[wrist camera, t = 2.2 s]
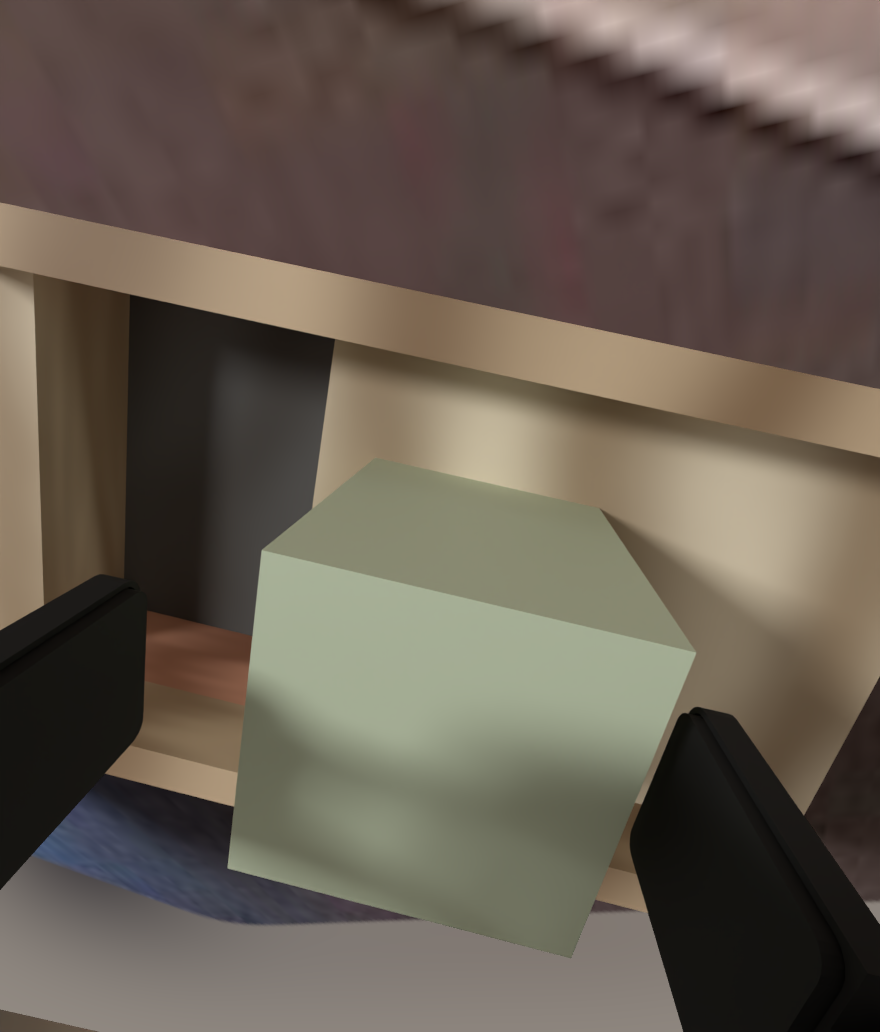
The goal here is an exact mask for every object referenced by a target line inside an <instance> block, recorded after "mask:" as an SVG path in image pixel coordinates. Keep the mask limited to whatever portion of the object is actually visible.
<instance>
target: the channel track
mask: <svg viewBox="0 0 880 1032" xmlns="http://www.w3.org/2000/svg"><path fill="white" fill-rule="evenodd" d="M374 458H380V459H384V460H388V461H393V462H397V463H402V464H406V465H411V466H415V467H419V468H424V469H428V470H433V471H437V472H441V473H446V474H450V475H455V476H459V477H464V478H468V479H472V480H477V481H481V482H486V483H490V484H495V485H499V486H503V487H508V488H512V489H517V490H521V491H525V492H530V493H534V494H539V495H543V496H548V497H552V498H556V499H561V500H565V501H570V502H574V503H578V504H583V505H587V506H592V507H596V508H600V510H601V511H602V513H603V514H604V516H605V517H606V519H607V520H608V522H609V523H610V525H611V526H612V528H613V529H614V531H615V532H616V534H617V535H618V537H619V538H620V540H621V541H622V543H623V544H624V546H625V547H626V549H627V550H628V552H629V553H630V555H631V556H632V557H633V559H634V560H635V562H636V563H637V565H638V566H639V568H640V569H641V571H642V572H643V574H644V575H645V577H646V578H647V580H648V581H649V583H650V584H651V586H652V587H653V589H654V590H655V592H656V593H657V595H658V596H659V598H660V599H661V601H662V602H663V604H664V605H665V607H666V608H667V609H668V611H669V612H670V614H671V615H672V617H673V618H674V620H675V621H676V623H677V624H678V626H679V627H680V629H681V630H682V632H683V633H684V635H685V636H686V638H687V639H688V641H689V642H690V644H691V645H692V647H693V648H694V650H695V651H696V655H695V658H694V660H693V663H692V665H691V667H690V670H689V672H688V675H687V677H686V680H685V682H684V684H683V687H682V689H681V692H680V694H679V697H678V699H677V701H676V704H675V706H674V709H673V711H672V714H671V716H670V719H669V721H668V723H667V726H666V728H665V731H664V733H663V736H662V738H661V740H660V743H659V745H658V748H657V750H656V753H655V755H654V757H653V760H652V762H651V765H650V767H649V770H648V772H647V774H646V777H645V779H644V782H643V784H642V787H641V789H640V792H639V794H638V796H637V799H636V801H635V804H634V806H633V809H632V811H631V813H630V816H629V818H628V821H627V823H626V826H625V828H624V830H623V833H622V835H621V838H620V840H619V843H618V845H617V848H616V850H615V852H614V855H613V857H612V860H611V862H610V865H609V867H608V869H607V872H606V874H605V877H604V879H603V882H602V884H601V886H600V889H599V891H598V894H597V896H596V899H595V900H599V901H603V902H607V903H611V904H615V905H619V906H623V907H627V908H631V909H634V910H638V911H642V912H646V913H648V911H647V908H646V904H645V901H644V898H643V894H642V891H641V887H640V884H639V881H638V877H637V874H636V871H635V867H634V864H633V861H632V857H631V853H630V845H629V844H630V833H631V829H632V827H633V824H634V822H635V819H636V817H637V815H638V812H639V810H640V807H641V805H642V803H643V800H644V798H645V796H646V793H647V791H648V788H649V786H650V784H651V781H652V779H653V776H654V774H655V772H656V769H657V767H658V764H659V762H660V760H661V757H662V755H663V752H664V750H665V748H666V745H667V743H668V740H669V738H670V736H671V733H672V731H673V728H674V726H675V724H676V721H677V719H678V717H679V716H680V715H681V714H682V713H689V712H690V710H691V709H693V708H694V707H701V708H706V709H710V710H715V711H719V712H724V713H728V714H731V715H733V716H734V717H735V718H736V719H737V720H738V722H739V723H740V725H741V726H742V728H743V729H744V730H745V732H746V733H747V735H748V736H749V738H750V739H751V740H752V742H753V743H754V745H755V746H756V748H757V749H758V750H759V752H760V753H761V755H762V756H763V758H764V759H765V761H766V762H767V763H768V765H769V766H770V768H771V769H772V771H773V772H774V773H775V775H776V776H777V778H778V779H779V781H780V782H781V783H782V785H783V786H784V788H785V789H786V791H787V792H788V794H789V795H790V796H791V798H792V799H793V801H794V802H795V804H796V805H797V806H798V808H799V809H800V811H801V812H802V814H803V815H805V813H806V811H807V809H808V807H809V805H810V804H811V802H812V800H813V798H814V796H815V794H816V793H817V791H818V789H819V787H820V785H821V783H822V781H823V780H824V778H825V776H826V774H827V772H828V770H829V769H830V767H831V765H832V763H833V761H834V759H835V758H836V756H837V754H838V752H839V750H840V748H841V747H842V745H843V743H844V741H845V739H846V737H847V736H848V734H849V732H850V730H851V728H852V726H853V725H854V723H855V721H856V719H857V717H858V715H859V713H860V712H861V710H862V708H863V706H864V704H865V702H866V701H867V699H868V697H869V695H870V693H871V691H872V690H873V688H874V686H875V684H876V682H877V680H878V679H879V677H880V389H875V388H871V387H866V386H861V385H856V384H852V383H847V382H842V381H838V380H833V379H828V378H823V377H819V376H814V375H809V374H805V373H800V372H795V371H791V370H786V369H781V368H776V367H772V366H767V365H762V364H758V363H753V362H748V361H743V360H739V359H734V358H729V357H725V356H720V355H715V354H710V353H706V352H701V351H696V350H692V349H687V348H682V347H677V346H673V345H668V344H663V343H659V342H654V341H649V340H645V339H640V338H635V337H630V336H626V335H621V334H616V333H612V332H607V331H602V330H597V329H593V328H588V327H583V326H579V325H574V324H569V323H564V322H560V321H555V320H550V319H546V318H541V317H536V316H532V315H527V314H522V313H517V312H513V311H508V310H503V309H499V308H494V307H489V306H484V305H480V304H475V303H470V302H466V301H461V300H456V299H451V298H447V297H442V296H437V295H433V294H428V293H423V292H418V291H414V290H409V289H404V288H400V287H395V286H390V285H386V284H381V283H376V282H371V281H367V280H362V279H357V278H353V277H348V276H343V275H338V274H334V273H329V272H324V271H320V270H315V269H310V268H305V267H301V266H296V265H291V264H287V263H282V262H277V261H273V260H268V259H263V258H258V257H254V256H249V255H244V254H240V253H235V252H230V251H225V250H221V249H216V248H211V247H207V246H202V245H197V244H192V243H188V242H183V241H178V240H174V239H169V238H164V237H159V236H155V235H150V234H145V233H141V232H136V231H131V230H127V229H122V228H117V227H112V226H108V225H103V224H98V223H94V222H89V221H84V220H79V219H75V218H70V217H65V216H61V215H56V214H51V213H46V212H42V211H37V210H32V209H28V208H23V207H18V206H14V205H9V204H4V203H0V630H1V629H3V628H5V627H7V626H8V625H10V624H12V623H14V622H15V621H17V620H19V619H21V618H22V617H24V616H26V615H28V614H29V613H31V612H33V611H35V610H36V609H38V608H40V607H42V606H43V605H45V604H47V603H49V602H50V601H52V600H54V599H55V598H57V597H59V596H61V595H62V594H64V593H66V592H68V591H69V590H71V589H73V588H75V587H76V586H78V585H80V584H82V583H83V582H85V581H87V580H89V579H90V578H92V577H94V576H96V575H99V574H105V575H109V576H114V577H118V578H123V579H127V580H132V581H135V582H136V583H138V585H139V587H140V591H142V592H144V593H145V594H146V596H147V627H146V655H145V683H144V712H143V723H142V726H141V729H140V731H139V734H138V735H137V737H136V739H135V740H134V741H133V743H132V744H131V745H130V746H129V747H128V748H127V749H126V750H125V752H124V753H123V754H122V755H121V756H120V757H119V758H118V759H117V760H116V762H115V763H114V764H113V765H112V766H111V767H110V768H109V769H108V771H107V772H106V773H105V774H109V775H113V776H117V777H121V778H125V779H128V780H132V781H136V782H140V783H144V784H148V785H152V786H156V787H160V788H163V789H167V790H171V791H175V792H179V793H183V794H187V795H191V796H195V797H198V798H202V799H206V800H210V801H214V802H218V803H222V804H226V805H230V806H234V803H235V794H236V785H237V775H238V766H239V757H240V747H241V738H242V729H243V719H244V710H245V701H246V692H247V682H248V673H249V664H250V654H251V645H252V636H253V627H254V617H255V608H256V599H257V589H258V580H259V571H260V561H261V552H262V549H264V548H265V547H266V546H267V545H269V544H270V543H271V542H272V541H274V540H275V539H276V538H277V537H278V536H280V535H281V534H282V533H283V532H285V531H286V530H287V529H288V528H290V527H291V526H292V525H293V524H294V523H296V522H297V521H298V520H299V519H301V518H302V517H303V516H304V515H305V514H307V513H308V512H309V511H310V510H312V509H313V508H314V507H315V506H317V505H318V504H319V503H320V502H321V501H323V500H324V499H325V498H326V497H328V496H329V495H330V494H331V493H333V492H334V491H335V490H336V489H337V488H339V487H340V486H341V485H342V484H344V483H345V482H346V481H347V480H349V479H350V478H351V477H352V476H353V475H355V474H356V473H357V472H358V471H360V470H361V469H362V468H363V467H364V466H366V465H367V464H368V463H369V462H371V461H372V460H373V459H374Z"/></svg>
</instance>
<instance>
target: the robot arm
mask: <svg viewBox="0 0 880 1032" xmlns="http://www.w3.org/2000/svg"><path fill="white" fill-rule="evenodd" d="M146 627H147V596H146V594H145V593H144V592H142V591H140V587H139V585H138V583H136V582H135V581H132V580H127V579H123V578H118V577H114V576H109V575H105V574H99V575H96V576H94V577H92V578H90V579H89V580H87V581H85V582H83V583H82V584H80V585H78V586H76V587H75V588H73V589H71V590H69V591H68V592H66V593H64V594H62V595H61V596H59V597H57V598H55V599H54V600H52V601H50V602H49V603H47V604H45V605H43V606H42V607H40V608H38V609H36V610H35V611H33V612H31V613H29V614H28V615H26V616H24V617H22V618H21V619H19V620H17V621H15V622H14V623H12V624H10V625H8V626H7V627H5V628H3V629H1V630H0V890H1V888H2V887H3V886H4V885H5V884H6V883H7V882H8V881H9V879H10V878H11V877H12V876H13V875H14V874H15V873H16V872H17V871H18V870H19V868H20V867H21V866H22V865H23V864H24V863H25V862H26V861H27V860H28V858H29V857H30V856H31V855H32V854H33V853H34V852H35V851H36V850H37V848H38V847H39V846H40V845H41V844H42V843H43V842H44V841H45V840H46V838H47V837H48V836H49V835H50V834H51V833H52V832H53V831H54V830H55V828H56V827H57V826H58V825H59V824H60V823H61V822H62V821H63V819H64V818H65V817H66V816H67V815H68V814H69V813H70V812H71V811H72V809H73V808H74V807H75V806H76V805H77V804H78V803H79V802H80V801H81V799H82V798H83V797H84V796H85V795H86V794H87V793H88V792H89V791H90V789H91V788H92V787H93V786H94V785H95V784H96V783H97V782H98V781H99V779H100V778H101V777H102V776H103V775H104V774H105V773H106V772H107V771H108V769H109V768H110V767H111V766H112V765H113V764H114V763H115V762H116V760H117V759H118V758H119V757H120V756H121V755H122V754H123V753H124V752H125V750H126V749H127V748H128V747H129V746H130V745H131V744H132V743H133V741H134V740H135V739H136V737H137V735H138V734H139V731H140V729H141V726H142V723H143V712H144V683H145V655H146ZM629 845H630V853H631V857H632V861H633V864H634V867H635V871H636V874H637V877H638V881H639V884H640V887H641V891H642V894H643V898H644V901H645V904H646V908H647V911H648V914H649V918H650V921H651V924H652V928H653V931H654V934H655V938H656V941H657V945H658V948H659V951H660V955H661V958H662V961H663V965H664V968H665V972H666V974H667V978H668V981H669V985H670V988H671V992H672V995H673V998H674V1002H675V1005H676V1009H677V1012H678V1015H679V1019H680V1022H681V1025H682V1029H683V1032H880V924H879V923H878V921H877V920H876V918H875V917H874V916H873V914H872V913H871V911H870V910H869V908H868V907H867V905H866V904H865V903H864V901H863V900H862V898H861V897H860V895H859V894H858V893H857V891H856V890H855V888H854V887H853V885H852V884H851V882H850V881H849V880H848V878H847V877H846V875H845V874H844V872H843V871H842V870H841V868H840V867H839V865H838V864H837V862H836V861H835V860H834V858H833V857H832V855H831V854H830V852H829V851H828V849H827V848H826V847H825V845H824V844H823V842H822V841H821V839H820V838H819V837H818V835H817V834H816V832H815V831H814V829H813V828H812V827H811V825H810V824H809V822H808V821H807V819H806V818H805V816H804V815H803V814H802V812H801V811H800V809H799V808H798V806H797V805H796V804H795V802H794V801H793V799H792V798H791V796H790V795H789V794H788V792H787V791H786V789H785V788H784V786H783V785H782V783H781V782H780V781H779V779H778V778H777V776H776V775H775V773H774V772H773V771H772V769H771V768H770V766H769V765H768V763H767V762H766V761H765V759H764V758H763V756H762V755H761V753H760V752H759V750H758V749H757V748H756V746H755V745H754V743H753V742H752V740H751V739H750V738H749V736H748V735H747V733H746V732H745V730H744V729H743V728H742V726H741V725H740V723H739V722H738V720H737V719H736V718H735V717H734V716H733V715H731V714H728V713H724V712H719V711H715V710H710V709H706V708H701V707H694V708H693V709H691V710H690V712H689V713H682V714H681V715H680V716H679V717H678V719H677V721H676V724H675V726H674V728H673V731H672V733H671V736H670V738H669V740H668V743H667V745H666V748H665V750H664V752H663V755H662V757H661V760H660V762H659V764H658V767H657V769H656V772H655V774H654V776H653V779H652V781H651V784H650V786H649V788H648V791H647V793H646V796H645V798H644V800H643V803H642V805H641V807H640V810H639V812H638V815H637V817H636V819H635V822H634V824H633V827H632V829H631V833H630V844H629ZM0 1032H97V1031H92V1030H88V1029H84V1028H79V1027H74V1026H70V1025H66V1024H62V1023H57V1022H53V1021H48V1020H44V1019H39V1018H35V1017H31V1016H26V1015H22V1014H17V1013H13V1012H8V1011H4V1010H0Z"/></svg>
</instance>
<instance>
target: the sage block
mask: <svg viewBox="0 0 880 1032" xmlns="http://www.w3.org/2000/svg"><path fill="white" fill-rule="evenodd" d="M695 655H696V651H695V650H694V648H693V647H692V645H691V644H690V642H689V641H688V639H687V638H686V636H685V635H684V633H683V632H682V630H681V629H680V627H679V626H678V624H677V623H676V621H675V620H674V618H673V617H672V615H671V614H670V612H669V611H668V609H667V608H666V607H665V605H664V604H663V602H662V601H661V599H660V598H659V596H658V595H657V593H656V592H655V590H654V589H653V587H652V586H651V584H650V583H649V581H648V580H647V578H646V577H645V575H644V574H643V572H642V571H641V569H640V568H639V566H638V565H637V563H636V562H635V560H634V559H633V557H632V556H631V555H630V553H629V552H628V550H627V549H626V547H625V546H624V544H623V543H622V541H621V540H620V538H619V537H618V535H617V534H616V532H615V531H614V529H613V528H612V526H611V525H610V523H609V522H608V520H607V519H606V517H605V516H604V514H603V513H602V511H601V510H600V508H596V507H592V506H587V505H583V504H578V503H574V502H570V501H565V500H561V499H556V498H552V497H548V496H543V495H539V494H534V493H530V492H525V491H521V490H517V489H512V488H508V487H503V486H499V485H495V484H490V483H486V482H481V481H477V480H472V479H468V478H464V477H459V476H455V475H450V474H446V473H441V472H437V471H433V470H428V469H424V468H419V467H415V466H411V465H406V464H402V463H397V462H393V461H388V460H384V459H380V458H374V459H373V460H372V461H371V462H369V463H368V464H367V465H366V466H364V467H363V468H362V469H361V470H360V471H358V472H357V473H356V474H355V475H353V476H352V477H351V478H350V479H349V480H347V481H346V482H345V483H344V484H342V485H341V486H340V487H339V488H337V489H336V490H335V491H334V492H333V493H331V494H330V495H329V496H328V497H326V498H325V499H324V500H323V501H321V502H320V503H319V504H318V505H317V506H315V507H314V508H313V509H312V510H310V511H309V512H308V513H307V514H305V515H304V516H303V517H302V518H301V519H299V520H298V521H297V522H296V523H294V524H293V525H292V526H291V527H290V528H288V529H287V530H286V531H285V532H283V533H282V534H281V535H280V536H278V537H277V538H276V539H275V540H274V541H272V542H271V543H270V544H269V545H267V546H266V547H265V548H264V549H262V552H261V561H260V571H259V580H258V589H257V599H256V608H255V617H254V627H253V636H252V645H251V654H250V664H249V673H248V682H247V692H246V701H245V710H244V719H243V729H242V738H241V747H240V757H239V766H238V775H237V785H236V794H235V803H234V812H233V822H232V831H231V840H230V850H229V859H228V869H232V870H236V871H240V872H243V873H247V874H251V875H255V876H259V877H262V878H266V879H270V880H274V881H278V882H282V883H285V884H289V885H293V886H297V887H301V888H304V889H308V890H312V891H316V892H320V893H324V894H327V895H331V896H335V897H339V898H343V899H346V900H350V901H354V902H358V903H362V904H366V905H369V906H373V907H377V908H381V909H385V910H388V911H392V912H396V913H400V914H404V915H407V916H411V917H415V918H419V919H423V920H427V921H430V922H434V923H438V924H442V925H446V926H449V927H453V928H457V929H461V930H465V931H469V932H473V933H476V934H480V935H484V936H488V937H491V938H495V939H499V940H503V941H507V942H511V943H514V944H518V945H522V946H526V947H530V948H534V949H537V950H541V951H545V952H549V953H553V954H557V955H561V956H564V957H568V958H571V957H572V955H573V952H574V950H575V947H576V945H577V942H578V940H579V938H580V935H581V932H582V930H583V928H584V925H585V923H586V921H587V918H588V916H589V913H590V911H591V908H592V906H593V903H594V901H595V899H596V896H597V894H598V891H599V889H600V886H601V884H602V882H603V879H604V877H605V874H606V872H607V869H608V867H609V865H610V862H611V860H612V857H613V855H614V852H615V850H616V848H617V845H618V843H619V840H620V838H621V835H622V833H623V830H624V828H625V826H626V823H627V821H628V818H629V816H630V813H631V811H632V809H633V806H634V804H635V801H636V799H637V796H638V794H639V792H640V789H641V787H642V784H643V782H644V779H645V777H646V774H647V772H648V770H649V767H650V765H651V762H652V760H653V757H654V755H655V753H656V750H657V748H658V745H659V743H660V740H661V738H662V736H663V733H664V731H665V728H666V726H667V723H668V721H669V719H670V716H671V714H672V711H673V709H674V706H675V704H676V701H677V699H678V697H679V694H680V692H681V689H682V687H683V684H684V682H685V680H686V677H687V675H688V672H689V670H690V667H691V665H692V663H693V660H694V658H695Z"/></svg>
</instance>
